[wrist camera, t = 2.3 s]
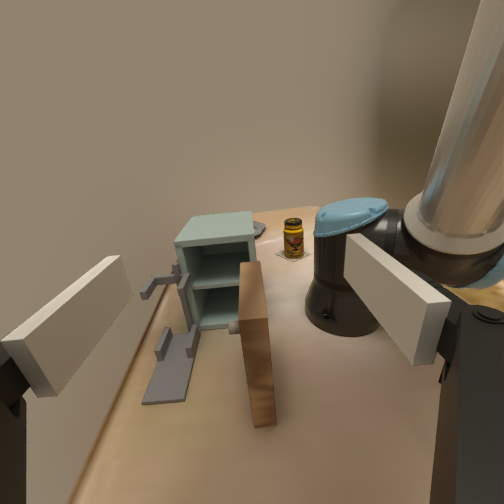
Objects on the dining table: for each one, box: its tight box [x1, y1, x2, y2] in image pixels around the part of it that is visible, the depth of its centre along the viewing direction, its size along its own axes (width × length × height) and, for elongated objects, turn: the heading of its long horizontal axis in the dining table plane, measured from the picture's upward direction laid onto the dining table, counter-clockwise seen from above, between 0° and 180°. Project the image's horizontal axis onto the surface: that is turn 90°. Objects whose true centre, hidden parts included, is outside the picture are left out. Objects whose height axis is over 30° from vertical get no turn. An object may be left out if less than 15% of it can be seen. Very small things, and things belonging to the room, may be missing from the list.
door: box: [229, 261, 277, 428], centre depth 34 cm, size 4×13×18 cm, turn 2°
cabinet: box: [140, 211, 257, 405], centre depth 46 cm, size 20×31×20 cm, turn 2°
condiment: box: [276, 218, 309, 262], centre depth 76 cm, size 7×8×12 cm
